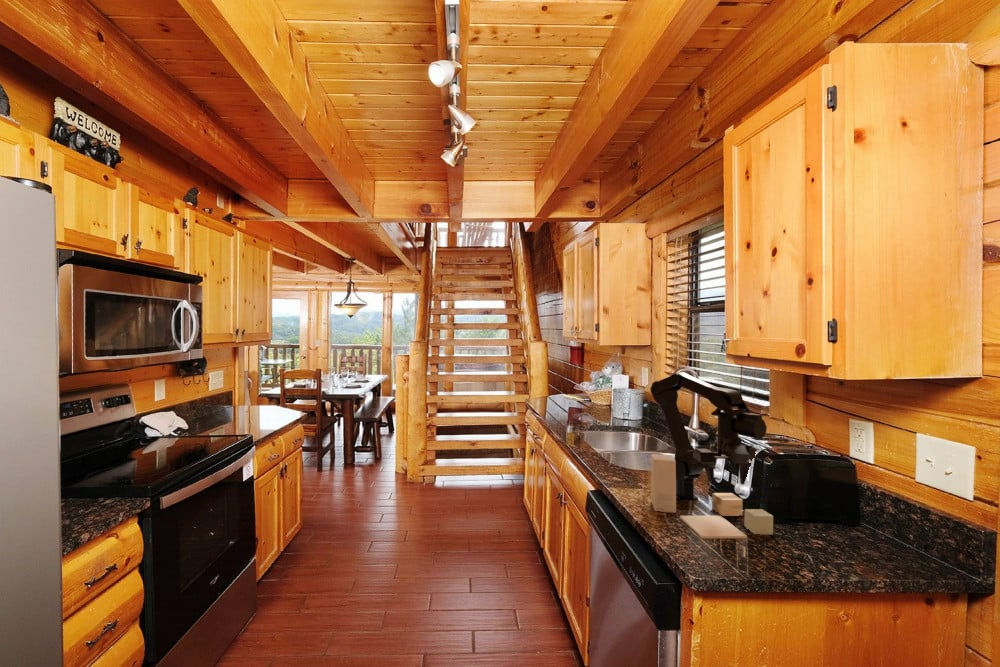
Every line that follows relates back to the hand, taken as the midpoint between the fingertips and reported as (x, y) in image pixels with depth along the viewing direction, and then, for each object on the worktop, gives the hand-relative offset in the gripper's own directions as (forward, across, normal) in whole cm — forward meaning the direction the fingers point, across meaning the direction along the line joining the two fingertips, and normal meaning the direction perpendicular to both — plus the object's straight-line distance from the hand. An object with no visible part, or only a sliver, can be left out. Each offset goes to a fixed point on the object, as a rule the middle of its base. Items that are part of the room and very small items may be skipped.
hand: (727, 484), depth 144 cm
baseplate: (+8, -10, -11) cm, 17 cm away
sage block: (+8, +2, -13) cm, 16 cm away
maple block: (+9, 0, 0) cm, 9 cm away
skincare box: (+9, -18, +4) cm, 20 cm away
